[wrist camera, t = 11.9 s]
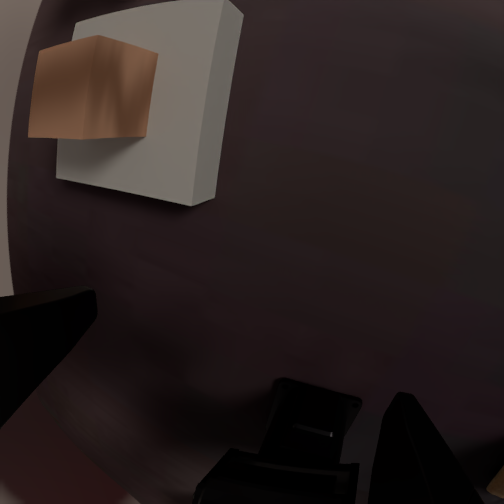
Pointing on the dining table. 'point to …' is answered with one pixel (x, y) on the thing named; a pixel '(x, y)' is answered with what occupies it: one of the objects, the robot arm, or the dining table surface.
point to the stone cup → (497, 484)
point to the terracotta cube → (92, 90)
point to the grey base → (166, 103)
